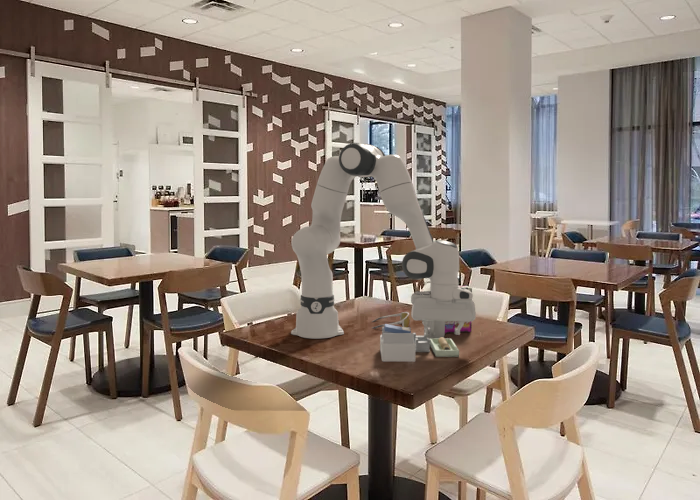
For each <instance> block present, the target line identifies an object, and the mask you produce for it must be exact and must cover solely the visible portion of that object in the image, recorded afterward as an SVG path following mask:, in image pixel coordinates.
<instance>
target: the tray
mask: <svg viewBox="0 0 700 500" xmlns="http://www.w3.org/2000/svg"><path fill="white" fill-rule="evenodd" d="M444 338H445V337H444ZM429 339H430V349H431V350H432V352H433V355H434V356H435V357H436V358H442V357H444V358H455V357H456V358H460V349H459V348H458V347H457V345H456V343H455V342H454V340H453V339H452V338H448V337H447V338H445V340H446V341H447V343H448V345H449V346H450V348H451V350H443V349H442V348H441V346H440V344H439V342H438V340H439V338H429Z"/></svg>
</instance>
